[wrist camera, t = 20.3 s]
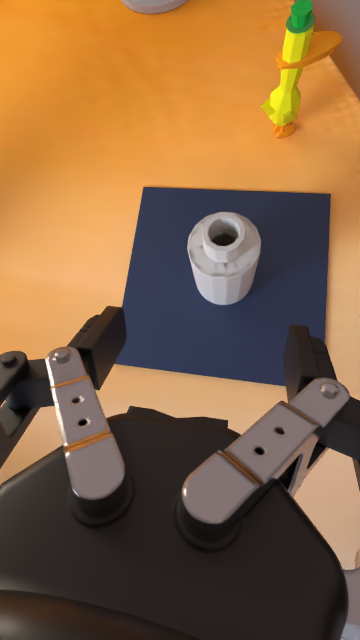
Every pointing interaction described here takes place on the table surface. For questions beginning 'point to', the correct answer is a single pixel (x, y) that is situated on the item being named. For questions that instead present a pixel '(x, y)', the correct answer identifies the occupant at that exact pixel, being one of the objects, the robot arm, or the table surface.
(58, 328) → the table surface
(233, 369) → the paper sheet
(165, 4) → the monster figurine
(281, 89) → the toy figure
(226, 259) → the white vase
